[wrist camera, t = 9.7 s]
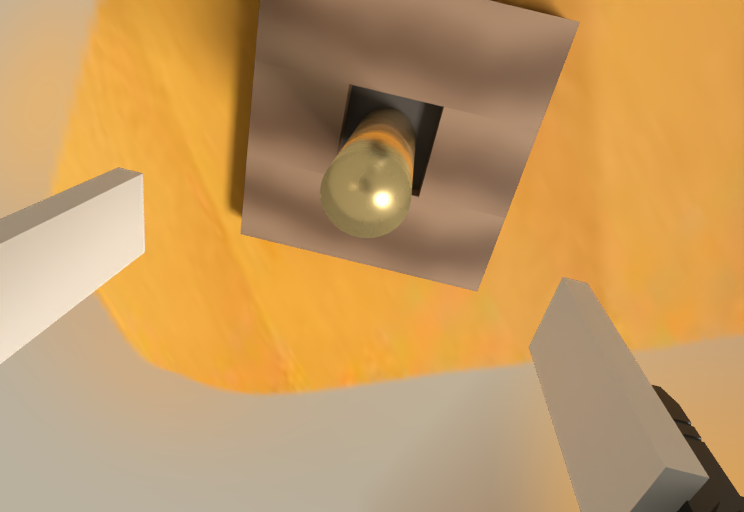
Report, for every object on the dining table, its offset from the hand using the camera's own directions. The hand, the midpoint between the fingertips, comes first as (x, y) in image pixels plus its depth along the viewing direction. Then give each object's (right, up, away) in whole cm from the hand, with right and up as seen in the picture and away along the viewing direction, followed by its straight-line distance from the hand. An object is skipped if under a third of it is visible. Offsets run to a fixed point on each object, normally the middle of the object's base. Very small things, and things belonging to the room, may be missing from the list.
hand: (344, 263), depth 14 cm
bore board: (+2, +8, +17) cm, 19 cm away
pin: (+2, +8, +16) cm, 18 cm away
